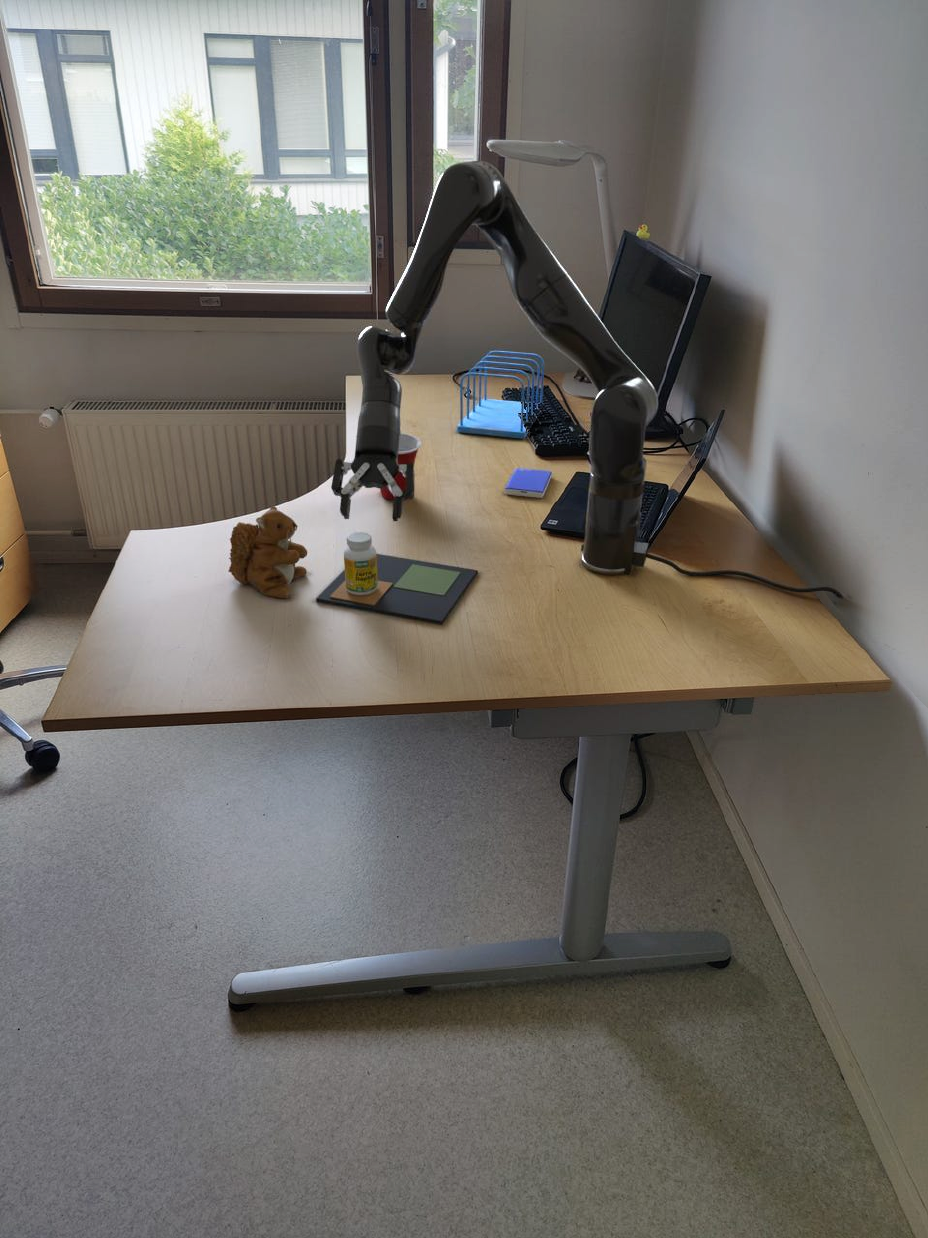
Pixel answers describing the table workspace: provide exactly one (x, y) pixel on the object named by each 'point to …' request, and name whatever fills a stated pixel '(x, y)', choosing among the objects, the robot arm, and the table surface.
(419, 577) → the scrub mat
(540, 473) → the hard drive
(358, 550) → the supplement bottle
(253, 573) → the stuffed squirrel
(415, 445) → the plastic cup
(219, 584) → the table surface
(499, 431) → the file sorter
